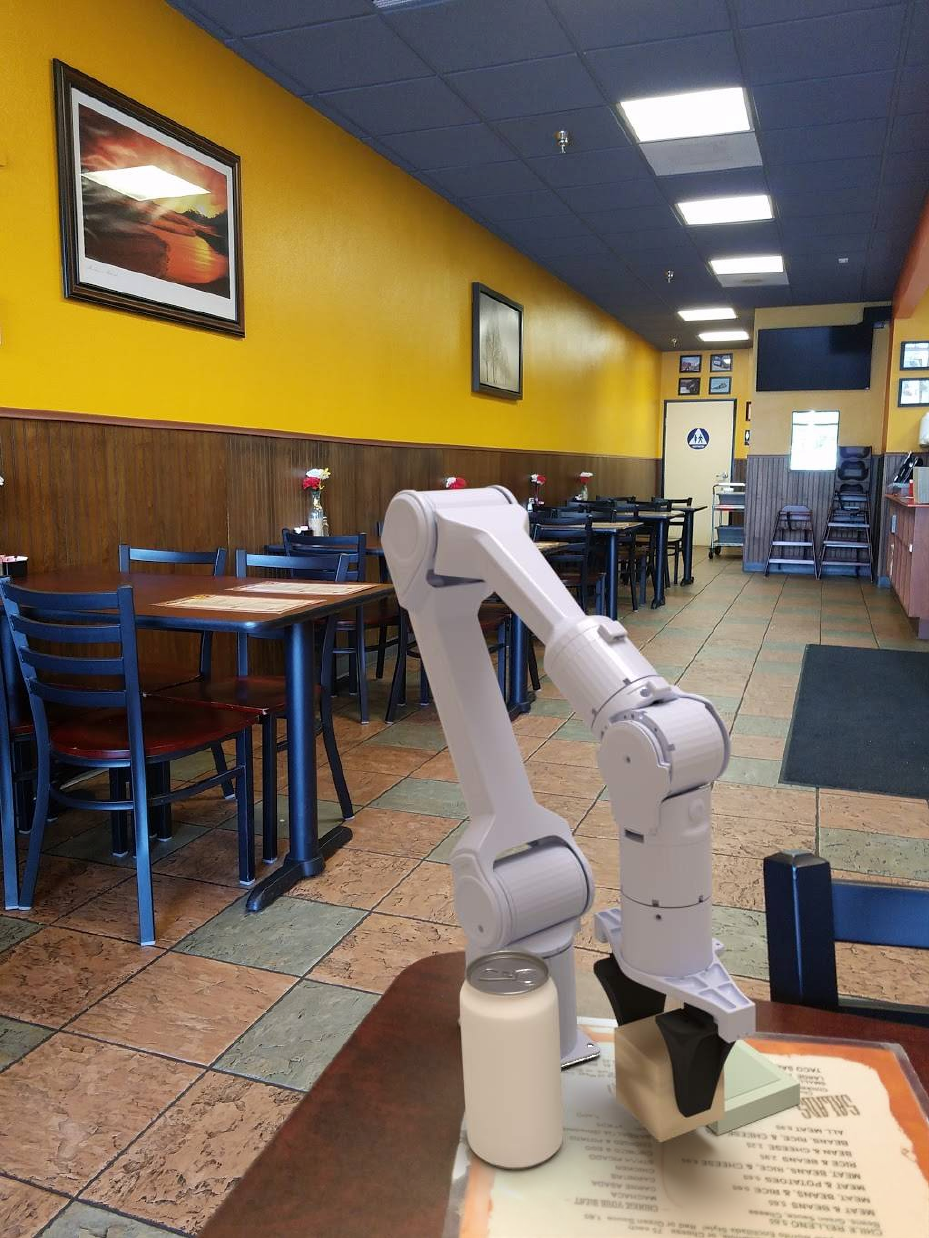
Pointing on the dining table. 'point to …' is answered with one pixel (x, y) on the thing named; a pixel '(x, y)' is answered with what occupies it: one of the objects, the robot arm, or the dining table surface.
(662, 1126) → the block
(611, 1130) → the dining table surface
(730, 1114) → the base
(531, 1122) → the can
